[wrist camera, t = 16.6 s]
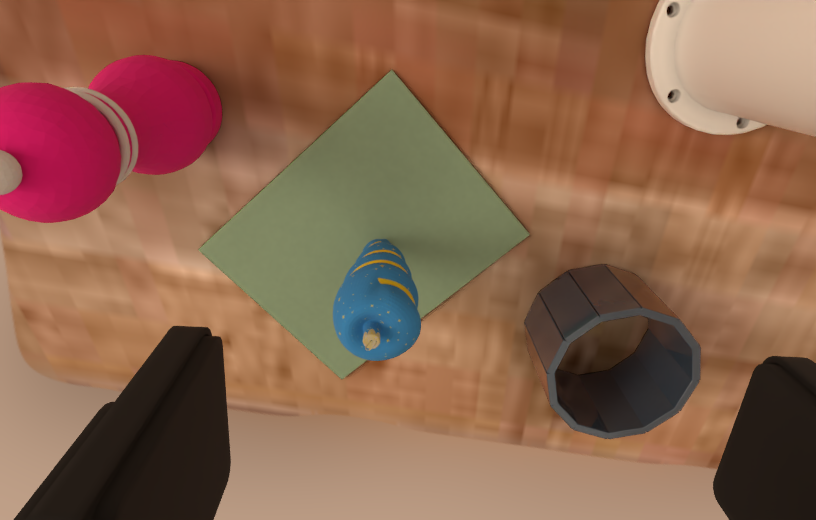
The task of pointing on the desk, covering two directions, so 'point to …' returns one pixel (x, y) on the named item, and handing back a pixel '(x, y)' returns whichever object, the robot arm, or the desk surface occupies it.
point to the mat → (364, 218)
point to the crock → (627, 381)
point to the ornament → (377, 304)
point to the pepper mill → (100, 134)
